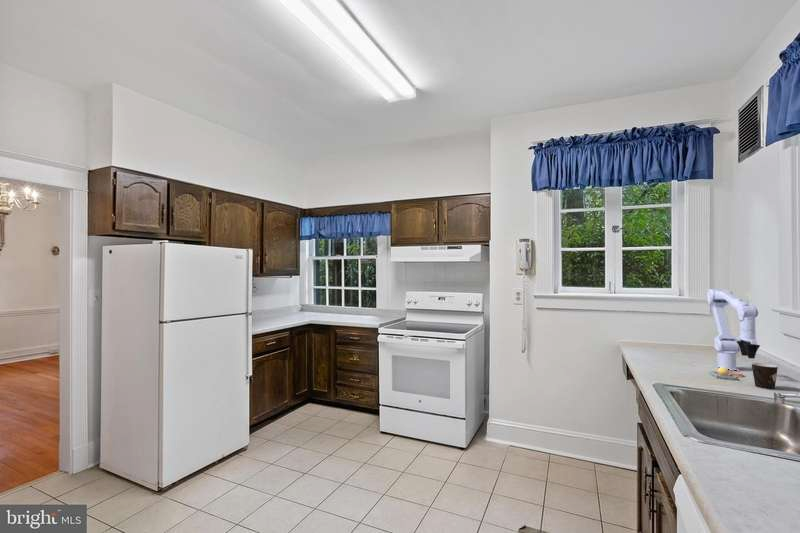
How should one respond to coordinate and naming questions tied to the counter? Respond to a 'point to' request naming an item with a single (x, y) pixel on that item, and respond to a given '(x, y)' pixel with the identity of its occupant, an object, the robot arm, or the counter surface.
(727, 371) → the ball
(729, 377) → the tray
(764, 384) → the coffee mug
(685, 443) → the counter surface
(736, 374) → the dish
